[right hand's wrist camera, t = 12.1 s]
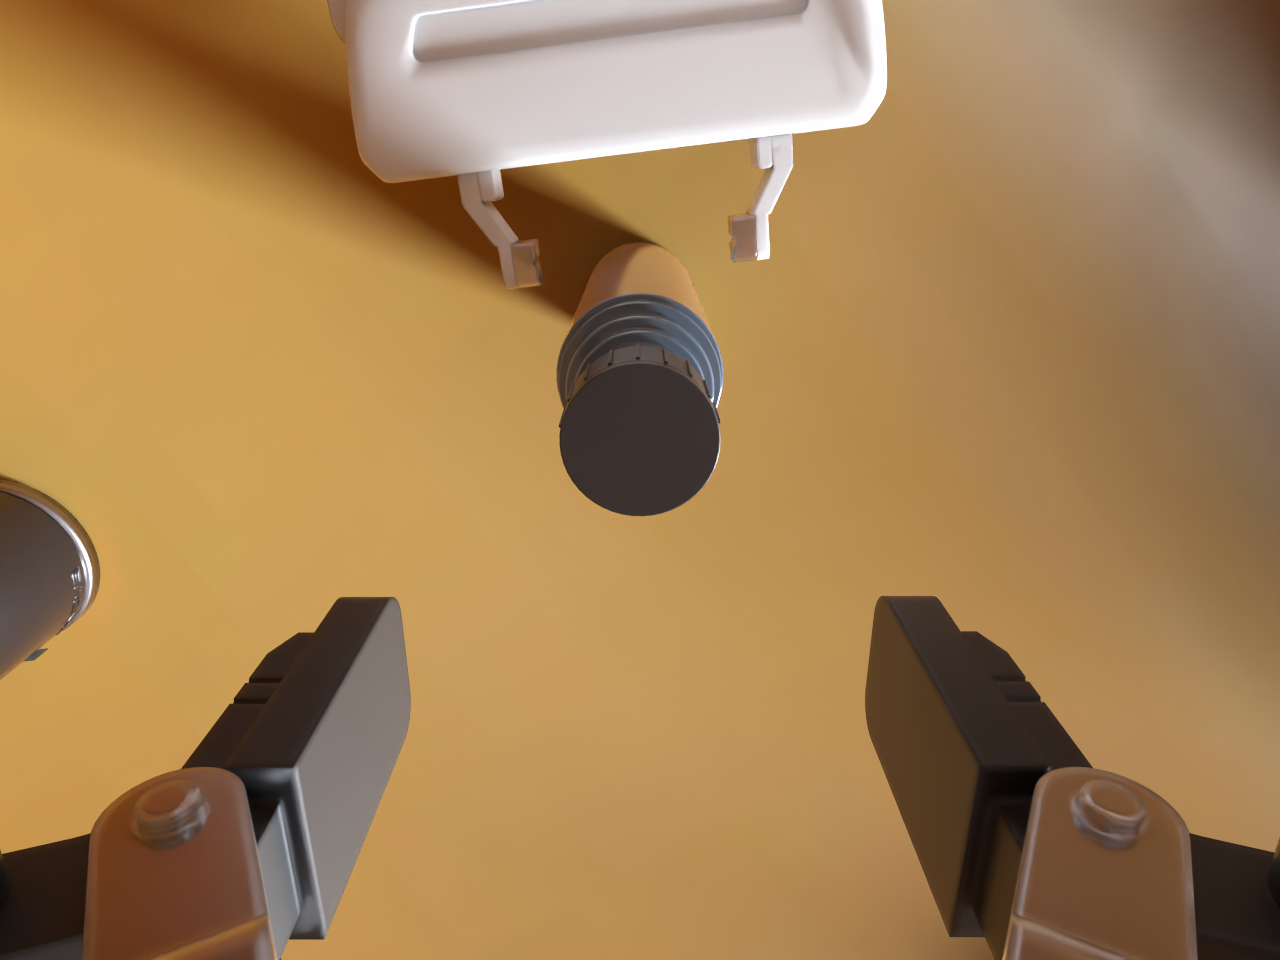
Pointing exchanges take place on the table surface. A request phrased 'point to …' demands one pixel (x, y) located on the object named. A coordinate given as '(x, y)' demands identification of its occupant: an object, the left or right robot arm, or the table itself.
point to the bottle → (640, 315)
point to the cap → (640, 431)
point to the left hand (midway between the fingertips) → (636, 273)
